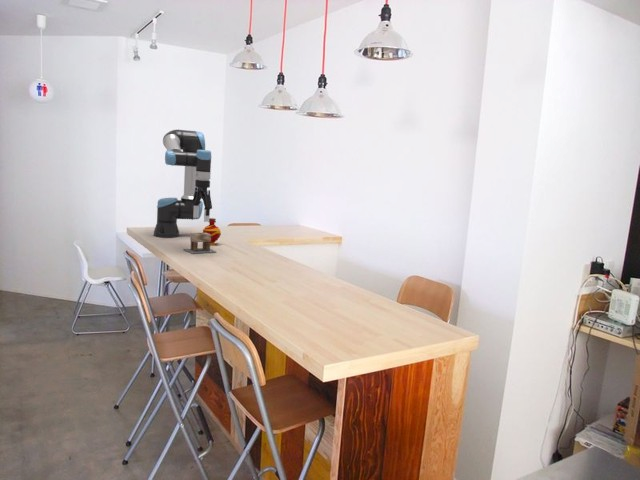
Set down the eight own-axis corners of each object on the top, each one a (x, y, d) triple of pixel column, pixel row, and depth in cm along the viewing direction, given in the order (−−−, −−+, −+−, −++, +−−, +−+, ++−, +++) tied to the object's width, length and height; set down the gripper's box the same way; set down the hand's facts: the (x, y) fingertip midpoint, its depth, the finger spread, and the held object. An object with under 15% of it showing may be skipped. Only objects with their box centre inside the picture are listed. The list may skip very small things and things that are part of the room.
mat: (183, 250, 261) (183, 248, 261) (207, 248, 270) (207, 247, 270) (191, 254, 253) (191, 252, 253) (216, 252, 261) (216, 251, 261)
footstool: (205, 248, 266) (206, 232, 265) (210, 250, 262) (210, 234, 260) (189, 249, 261) (190, 233, 259) (194, 251, 256) (195, 234, 255)
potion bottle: (210, 246, 277) (211, 220, 275) (198, 243, 283) (199, 217, 281) (224, 244, 285) (225, 219, 283) (212, 241, 292) (213, 217, 289)
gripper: (186, 177, 262) (185, 216, 266) (206, 181, 243) (204, 223, 247) (199, 177, 267) (198, 215, 271) (219, 182, 248) (217, 223, 251)
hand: (201, 219), depth 259 cm, fingers open, 13 cm apart
